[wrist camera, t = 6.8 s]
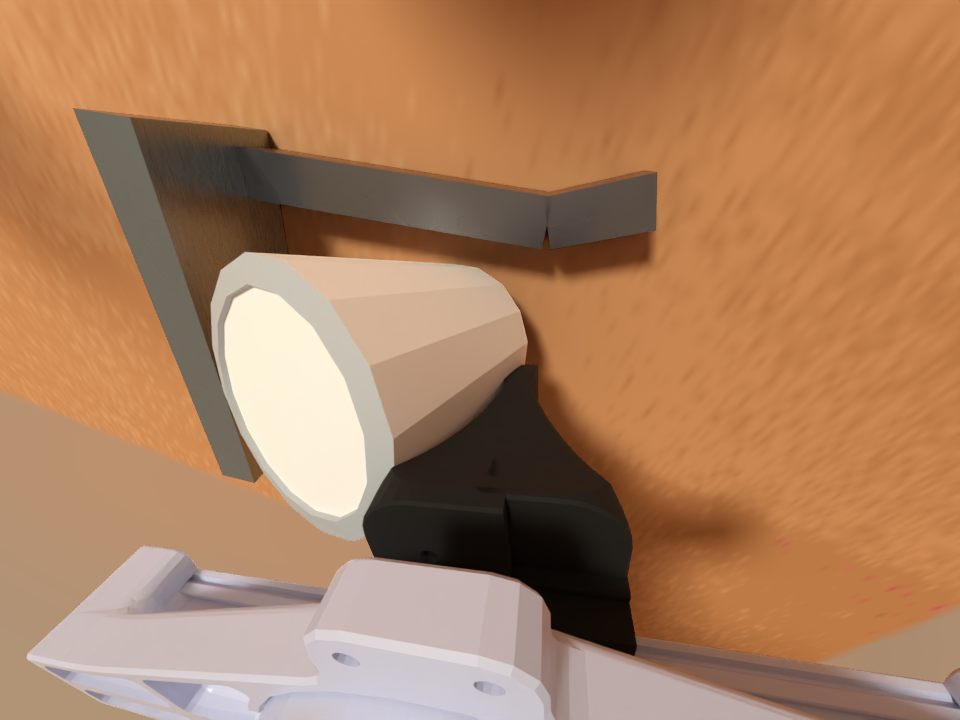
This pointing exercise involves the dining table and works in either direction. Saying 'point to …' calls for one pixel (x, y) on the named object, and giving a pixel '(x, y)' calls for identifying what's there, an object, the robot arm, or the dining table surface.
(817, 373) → the dining table surface
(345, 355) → the shot glass
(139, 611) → the robot arm
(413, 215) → the grey hook bracket
